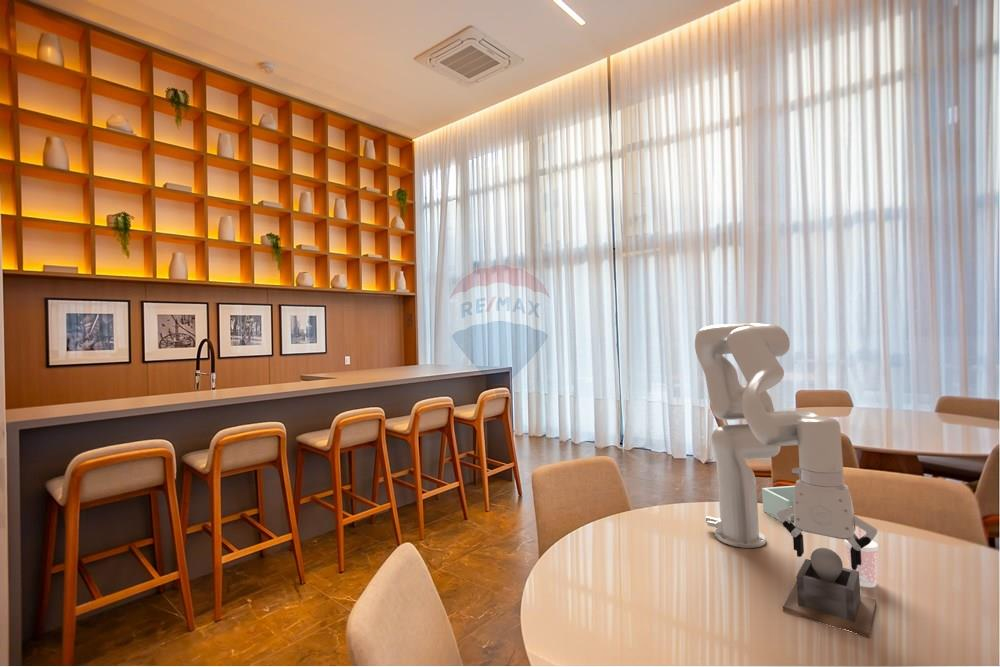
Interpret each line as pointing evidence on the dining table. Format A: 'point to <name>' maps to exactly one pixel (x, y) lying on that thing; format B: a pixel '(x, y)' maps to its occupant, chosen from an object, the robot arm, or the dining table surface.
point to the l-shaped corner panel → (778, 500)
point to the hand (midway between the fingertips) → (826, 560)
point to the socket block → (831, 600)
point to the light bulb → (826, 564)
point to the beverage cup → (865, 562)
